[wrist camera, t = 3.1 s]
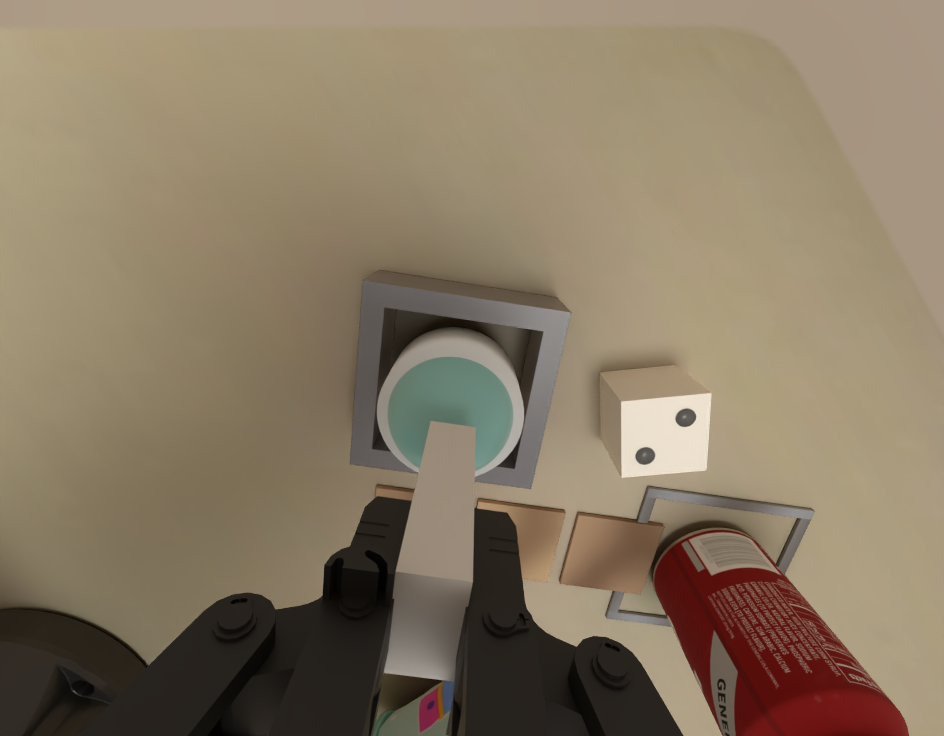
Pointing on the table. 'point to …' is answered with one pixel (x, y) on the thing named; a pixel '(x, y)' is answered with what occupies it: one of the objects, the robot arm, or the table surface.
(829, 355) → the table surface
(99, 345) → the table surface
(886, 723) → the soda can
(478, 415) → the dome
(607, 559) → the track
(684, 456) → the die
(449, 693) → the lunch box
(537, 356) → the dome housing
